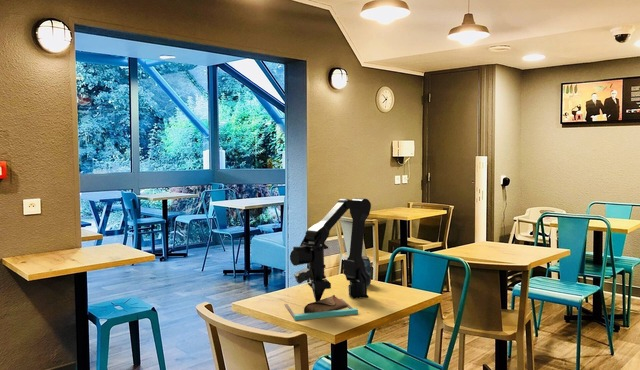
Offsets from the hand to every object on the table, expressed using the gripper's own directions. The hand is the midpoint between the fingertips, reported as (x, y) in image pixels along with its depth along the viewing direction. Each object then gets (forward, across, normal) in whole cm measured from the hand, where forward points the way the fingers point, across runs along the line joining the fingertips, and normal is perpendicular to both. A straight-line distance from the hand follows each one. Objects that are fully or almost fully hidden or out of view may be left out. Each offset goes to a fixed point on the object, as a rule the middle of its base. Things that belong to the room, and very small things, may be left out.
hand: (317, 302), depth 202 cm
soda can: (+2, -27, +27) cm, 38 cm away
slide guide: (+2, +3, 0) cm, 3 cm away
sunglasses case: (+2, +4, +3) cm, 6 cm away
